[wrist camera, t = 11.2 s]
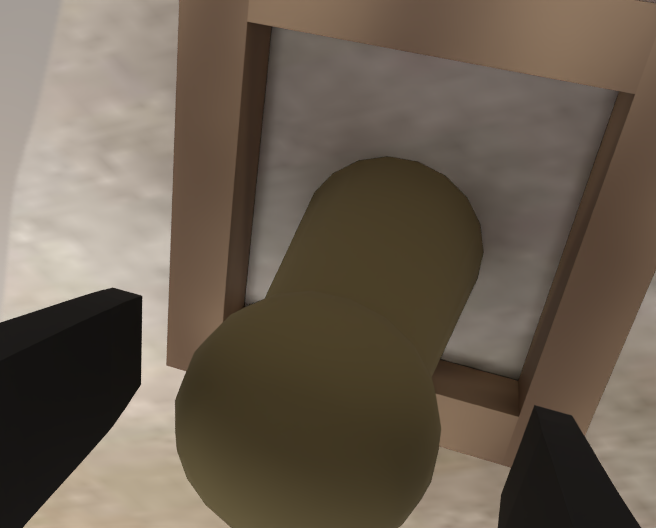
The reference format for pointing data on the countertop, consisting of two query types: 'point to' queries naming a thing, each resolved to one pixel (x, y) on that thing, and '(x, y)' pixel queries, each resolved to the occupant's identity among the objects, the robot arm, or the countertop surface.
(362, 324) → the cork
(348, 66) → the countertop surface
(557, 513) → the robot arm
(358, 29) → the socket block
